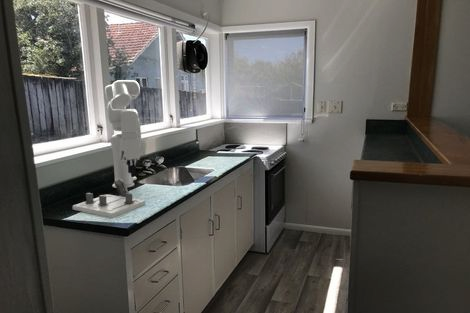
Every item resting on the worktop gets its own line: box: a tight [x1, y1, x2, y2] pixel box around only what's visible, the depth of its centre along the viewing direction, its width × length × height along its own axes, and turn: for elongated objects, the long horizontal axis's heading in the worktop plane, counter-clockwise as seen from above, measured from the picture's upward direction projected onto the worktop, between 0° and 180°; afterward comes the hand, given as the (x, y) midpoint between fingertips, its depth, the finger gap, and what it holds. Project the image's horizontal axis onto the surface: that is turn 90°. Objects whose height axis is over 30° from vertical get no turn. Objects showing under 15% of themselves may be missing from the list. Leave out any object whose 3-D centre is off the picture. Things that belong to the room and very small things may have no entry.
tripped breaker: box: [124, 192, 134, 204], centre depth 180 cm, size 3×4×4 cm
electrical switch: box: [113, 178, 129, 197], centre depth 200 cm, size 9×5×9 cm, turn 32°
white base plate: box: [72, 194, 146, 218], centre depth 181 cm, size 22×26×2 cm
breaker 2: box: [98, 194, 109, 206], centre depth 177 cm, size 3×4×4 cm
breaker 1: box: [84, 192, 95, 204], centre depth 181 cm, size 3×4×4 cm
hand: (131, 172), depth 181 cm, fingers closed
